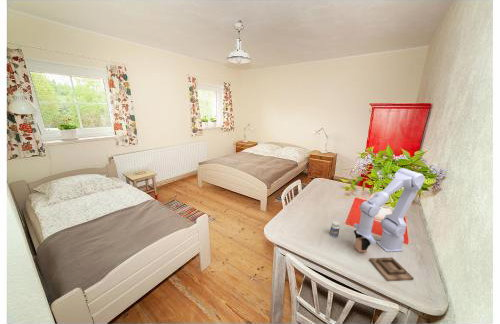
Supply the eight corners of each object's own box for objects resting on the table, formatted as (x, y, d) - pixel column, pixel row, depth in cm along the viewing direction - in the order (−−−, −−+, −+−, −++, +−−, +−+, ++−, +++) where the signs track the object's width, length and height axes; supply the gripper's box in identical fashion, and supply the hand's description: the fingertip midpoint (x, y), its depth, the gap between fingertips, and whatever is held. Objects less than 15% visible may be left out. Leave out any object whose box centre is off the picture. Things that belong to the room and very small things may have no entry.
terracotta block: (361, 246, 104) (363, 237, 102) (366, 251, 100) (368, 242, 98) (354, 246, 103) (356, 237, 102) (359, 252, 100) (361, 242, 98)
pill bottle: (329, 236, 112) (331, 224, 110) (329, 231, 117) (331, 219, 114) (338, 238, 111) (340, 225, 108) (338, 233, 115) (340, 221, 113)
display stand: (391, 259, 96) (393, 254, 95) (412, 279, 84) (414, 274, 84) (369, 260, 95) (370, 255, 94) (387, 281, 84) (388, 276, 83)
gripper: (350, 216, 104) (346, 237, 108) (367, 233, 90) (362, 257, 94) (362, 216, 105) (358, 237, 108) (381, 233, 91) (376, 256, 94)
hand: (361, 246), depth 101 cm, fingers closed on terracotta block, 4 cm apart
